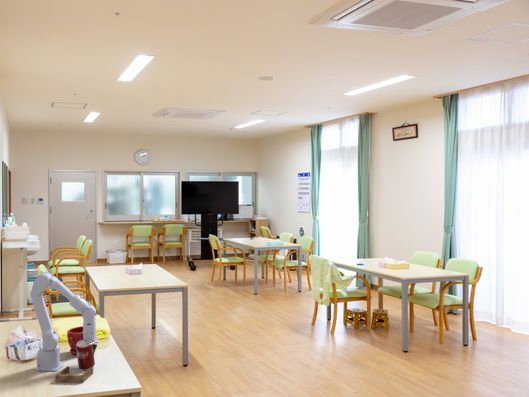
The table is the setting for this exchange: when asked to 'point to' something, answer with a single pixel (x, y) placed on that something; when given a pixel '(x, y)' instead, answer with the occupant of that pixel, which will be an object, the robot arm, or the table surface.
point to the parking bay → (73, 376)
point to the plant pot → (74, 338)
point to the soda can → (85, 354)
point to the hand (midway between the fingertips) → (90, 360)
